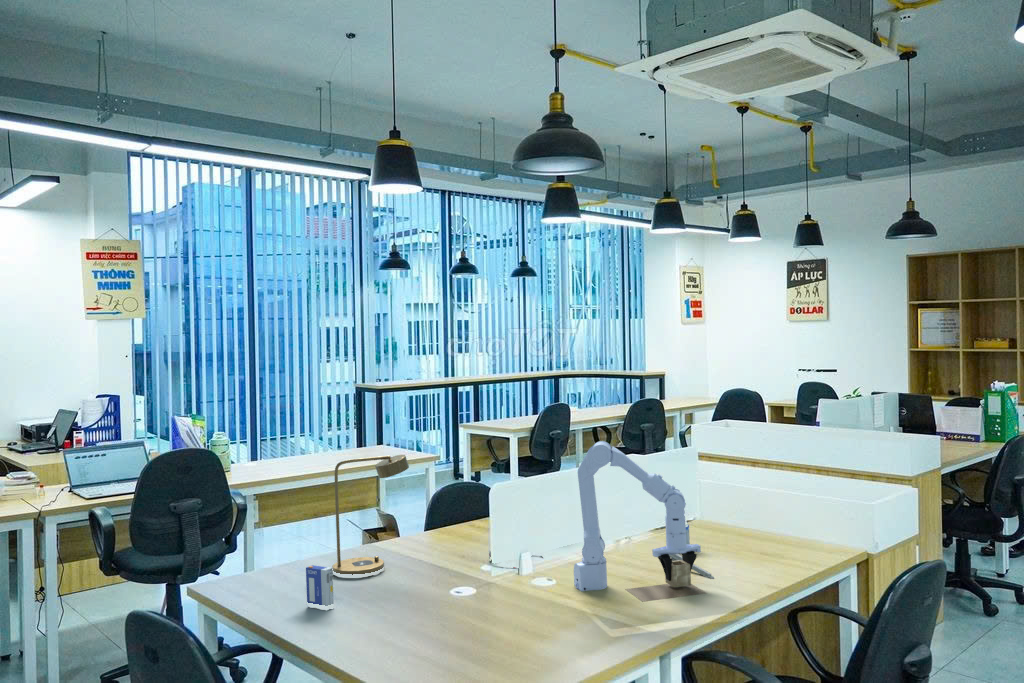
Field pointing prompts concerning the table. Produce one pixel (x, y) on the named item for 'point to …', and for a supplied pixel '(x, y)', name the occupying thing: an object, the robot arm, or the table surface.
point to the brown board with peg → (663, 592)
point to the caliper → (694, 567)
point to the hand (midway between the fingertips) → (677, 578)
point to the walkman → (319, 585)
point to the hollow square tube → (680, 574)
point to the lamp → (348, 566)
